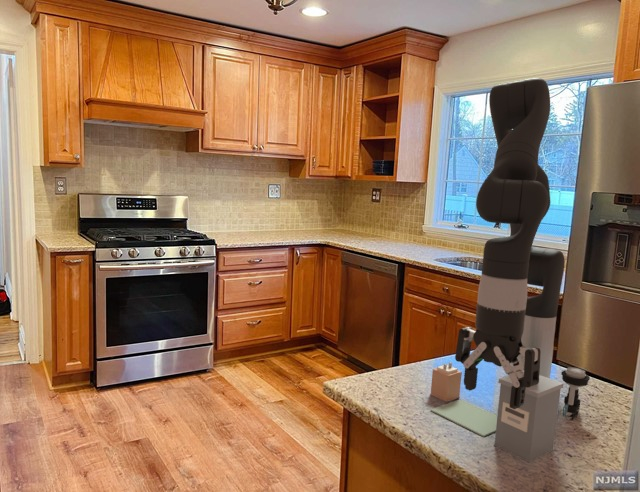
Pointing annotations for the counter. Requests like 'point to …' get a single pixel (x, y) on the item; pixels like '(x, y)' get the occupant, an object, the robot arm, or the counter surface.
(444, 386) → the block
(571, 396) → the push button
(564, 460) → the counter surface
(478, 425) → the pad
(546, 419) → the box
